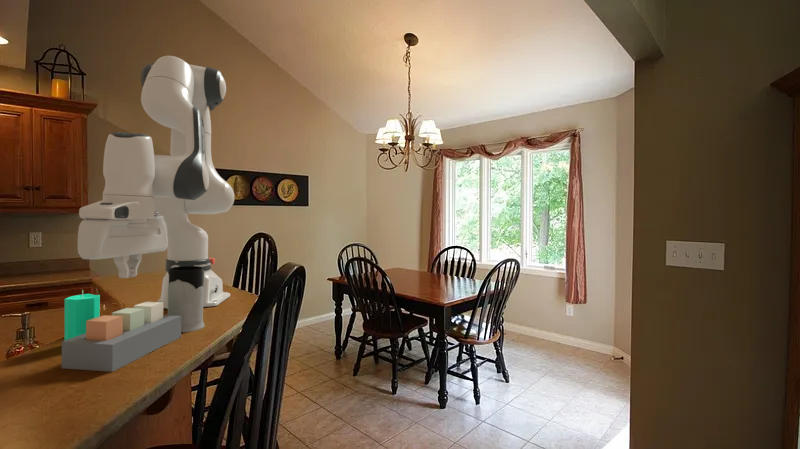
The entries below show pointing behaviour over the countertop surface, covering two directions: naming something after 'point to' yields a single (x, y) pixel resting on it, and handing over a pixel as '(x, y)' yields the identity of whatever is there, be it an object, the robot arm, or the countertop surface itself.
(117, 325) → the key
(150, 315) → the key
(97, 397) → the countertop surface
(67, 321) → the candle
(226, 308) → the countertop surface
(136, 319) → the key mid
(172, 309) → the grey black ceramic vase
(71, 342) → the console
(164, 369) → the countertop surface
